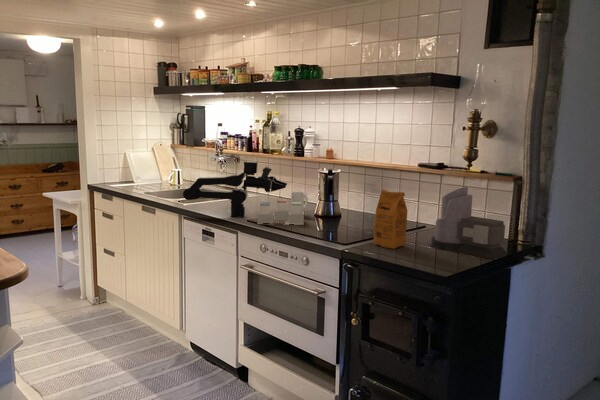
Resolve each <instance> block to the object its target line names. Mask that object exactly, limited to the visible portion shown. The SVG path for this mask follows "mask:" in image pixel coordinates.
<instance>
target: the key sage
mask: <svg viewBox="0 0 600 400" xmlns="http://www.w3.org/2000/svg"><path fill="white" fill-rule="evenodd" d="M301 203H302V202H292V214H301Z"/></svg>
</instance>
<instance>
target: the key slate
mask: <svg viewBox="0 0 600 400" xmlns="http://www.w3.org/2000/svg"><path fill="white" fill-rule="evenodd" d="M259 210H260V211H259V212H260V214H266V215H270V212H271V202H269V201H268V202H267V201H266V202H265V201H263V202H262V201H260V204H259Z"/></svg>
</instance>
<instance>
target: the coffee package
mask: <svg viewBox="0 0 600 400" xmlns="http://www.w3.org/2000/svg"><path fill="white" fill-rule="evenodd" d="M404 197H405V192H403V191H402V192H401V191H389V190H386V189H381V192H380V195H379V198H378V202H377V206H376V209H375V214H374V215H375V216H374V223H373V245H374V246H380V247H382V248H386V249H397V248H399V247H403V246H405V245H406V244H407V243H406V241H407V224H408V209H407V208H408V207H407V205H406V202H405V198H404Z"/></svg>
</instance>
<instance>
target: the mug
mask: <svg viewBox="0 0 600 400" xmlns="http://www.w3.org/2000/svg"><path fill="white" fill-rule="evenodd" d="M290 197H291V198H290V201H291V202H290V203H291V204H290V205H291V209H290V212H292V202H302V203H301V212H304V213H305V211H304V210H306V209H307V206H308V204H309V203H308V201H309V199H308V196H307V193H305V192H304V191H291V192H290ZM304 202H305V203H304Z"/></svg>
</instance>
